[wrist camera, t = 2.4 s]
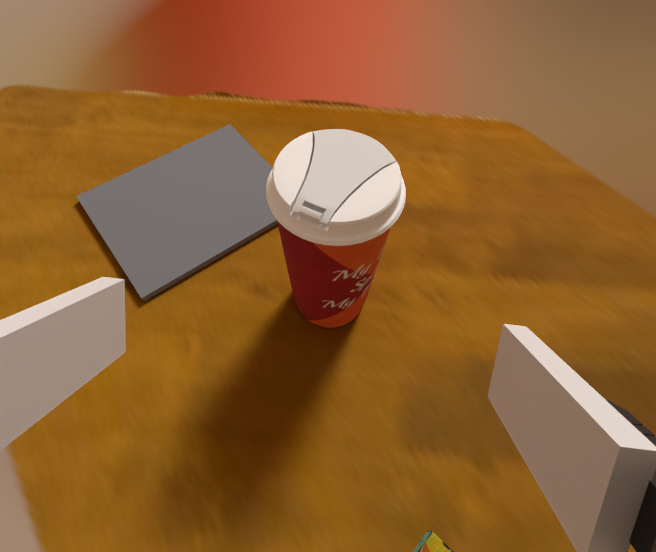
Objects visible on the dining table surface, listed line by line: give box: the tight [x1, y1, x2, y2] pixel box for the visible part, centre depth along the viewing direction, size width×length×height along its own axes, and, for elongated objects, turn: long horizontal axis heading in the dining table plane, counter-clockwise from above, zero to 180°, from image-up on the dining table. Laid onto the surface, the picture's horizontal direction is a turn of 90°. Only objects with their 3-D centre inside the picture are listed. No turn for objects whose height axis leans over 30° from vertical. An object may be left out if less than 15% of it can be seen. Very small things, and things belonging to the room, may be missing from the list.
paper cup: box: [266, 129, 406, 328], centre depth 29 cm, size 8×8×14 cm
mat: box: [76, 124, 278, 302], centre depth 39 cm, size 16×13×1 cm
